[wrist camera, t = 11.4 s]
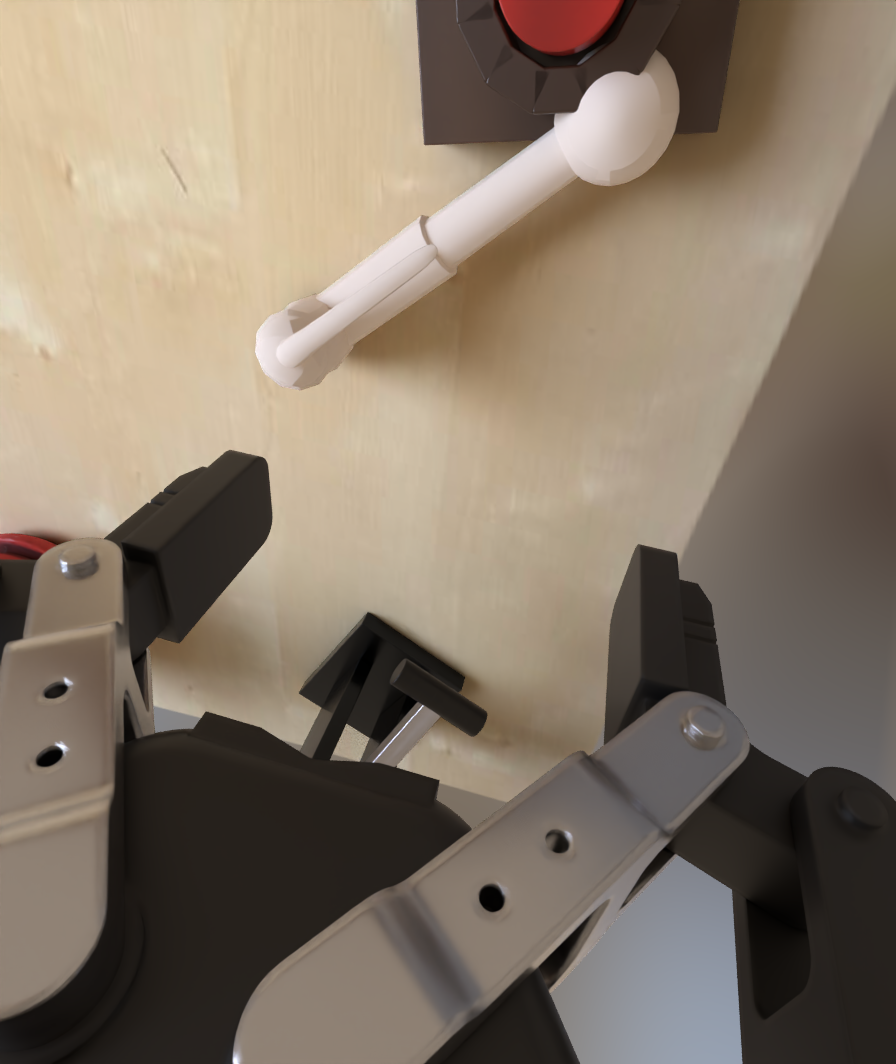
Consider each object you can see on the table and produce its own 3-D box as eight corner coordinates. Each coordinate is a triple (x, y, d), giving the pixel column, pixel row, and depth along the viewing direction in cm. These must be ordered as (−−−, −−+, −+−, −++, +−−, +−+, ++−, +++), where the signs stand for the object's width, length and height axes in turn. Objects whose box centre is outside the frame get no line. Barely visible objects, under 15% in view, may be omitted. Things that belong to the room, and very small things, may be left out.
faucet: (645, 156, 26) (761, 105, 17) (319, 386, 30) (274, 444, 21) (602, 59, 25) (704, -52, 16) (265, 314, 28) (191, 341, 19)
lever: (409, 648, 31) (403, 674, 28) (487, 700, 31) (488, 730, 29) (267, 817, 35) (252, 852, 33) (339, 860, 36) (330, 896, 33)
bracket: (368, 611, 40) (268, 804, 29) (465, 676, 41) (406, 885, 30) (305, 681, 46) (202, 864, 35) (392, 736, 47) (320, 929, 36)
